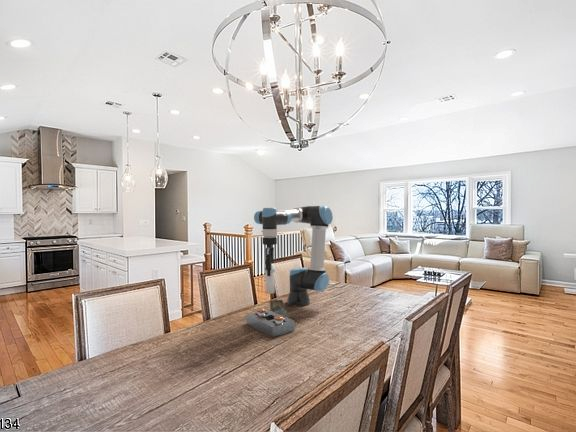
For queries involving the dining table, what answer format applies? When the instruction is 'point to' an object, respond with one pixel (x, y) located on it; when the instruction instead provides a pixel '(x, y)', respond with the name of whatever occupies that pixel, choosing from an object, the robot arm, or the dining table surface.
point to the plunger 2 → (278, 319)
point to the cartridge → (270, 285)
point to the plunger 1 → (261, 311)
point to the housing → (270, 323)
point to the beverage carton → (278, 307)
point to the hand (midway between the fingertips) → (270, 280)
